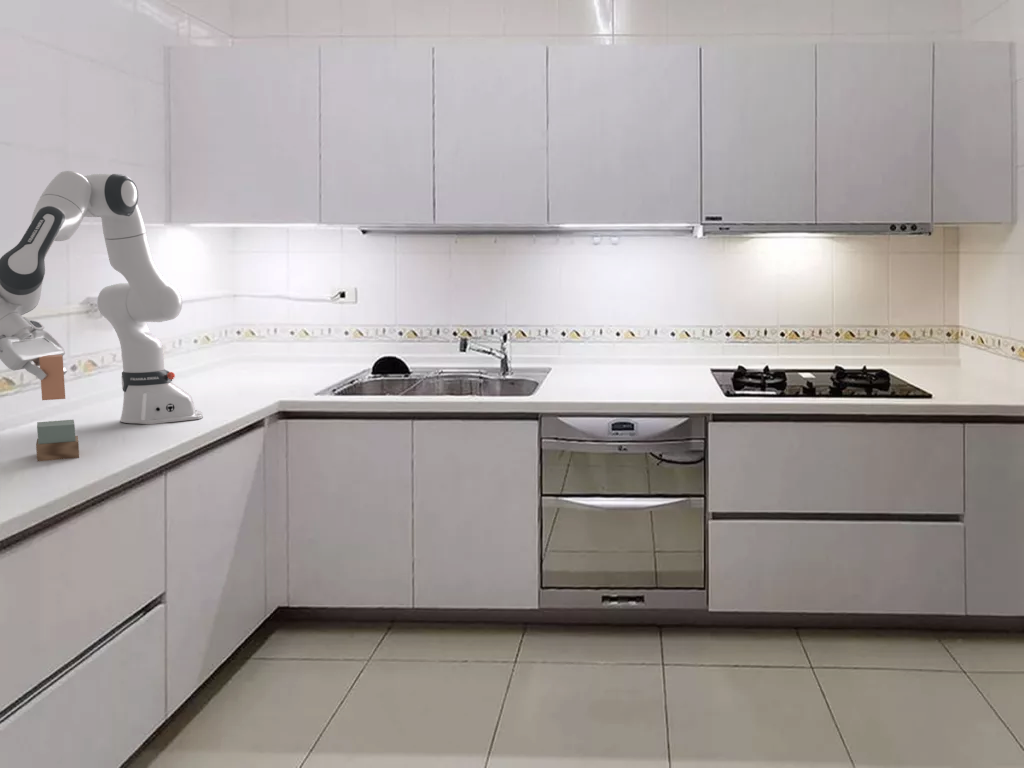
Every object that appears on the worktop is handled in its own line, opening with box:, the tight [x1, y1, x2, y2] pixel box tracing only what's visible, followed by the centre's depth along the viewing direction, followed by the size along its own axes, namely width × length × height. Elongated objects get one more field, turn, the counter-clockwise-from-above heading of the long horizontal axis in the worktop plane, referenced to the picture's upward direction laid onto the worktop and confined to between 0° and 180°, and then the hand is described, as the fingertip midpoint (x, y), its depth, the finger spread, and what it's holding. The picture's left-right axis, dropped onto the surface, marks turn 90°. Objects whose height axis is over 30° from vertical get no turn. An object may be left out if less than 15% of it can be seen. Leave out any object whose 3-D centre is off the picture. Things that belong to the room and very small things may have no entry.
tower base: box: [35, 435, 80, 462], centre depth 249 cm, size 9×9×4 cm
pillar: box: [39, 355, 66, 401], centre depth 247 cm, size 5×5×10 cm
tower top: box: [36, 419, 76, 444], centre depth 248 cm, size 8×8×4 cm
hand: (54, 375), depth 247 cm, fingers closed on pillar, 7 cm apart
